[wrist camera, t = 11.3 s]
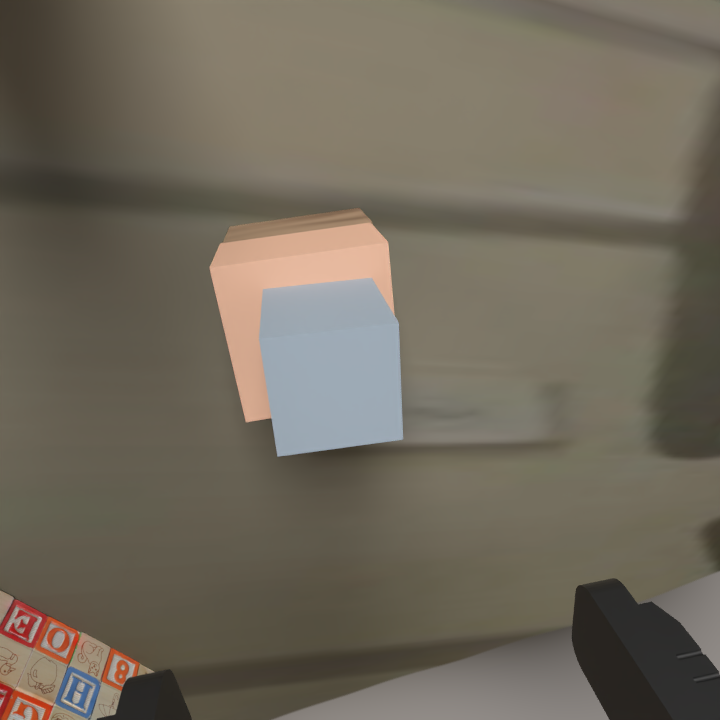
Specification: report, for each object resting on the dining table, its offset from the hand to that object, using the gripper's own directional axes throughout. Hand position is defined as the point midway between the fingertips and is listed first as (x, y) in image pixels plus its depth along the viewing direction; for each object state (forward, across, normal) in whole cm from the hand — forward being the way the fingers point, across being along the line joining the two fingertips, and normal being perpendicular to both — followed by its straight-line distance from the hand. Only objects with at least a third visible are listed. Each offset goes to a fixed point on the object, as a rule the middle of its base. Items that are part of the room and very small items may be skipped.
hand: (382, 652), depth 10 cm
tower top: (+22, 0, 0) cm, 22 cm away
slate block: (+17, 0, 0) cm, 17 cm away
